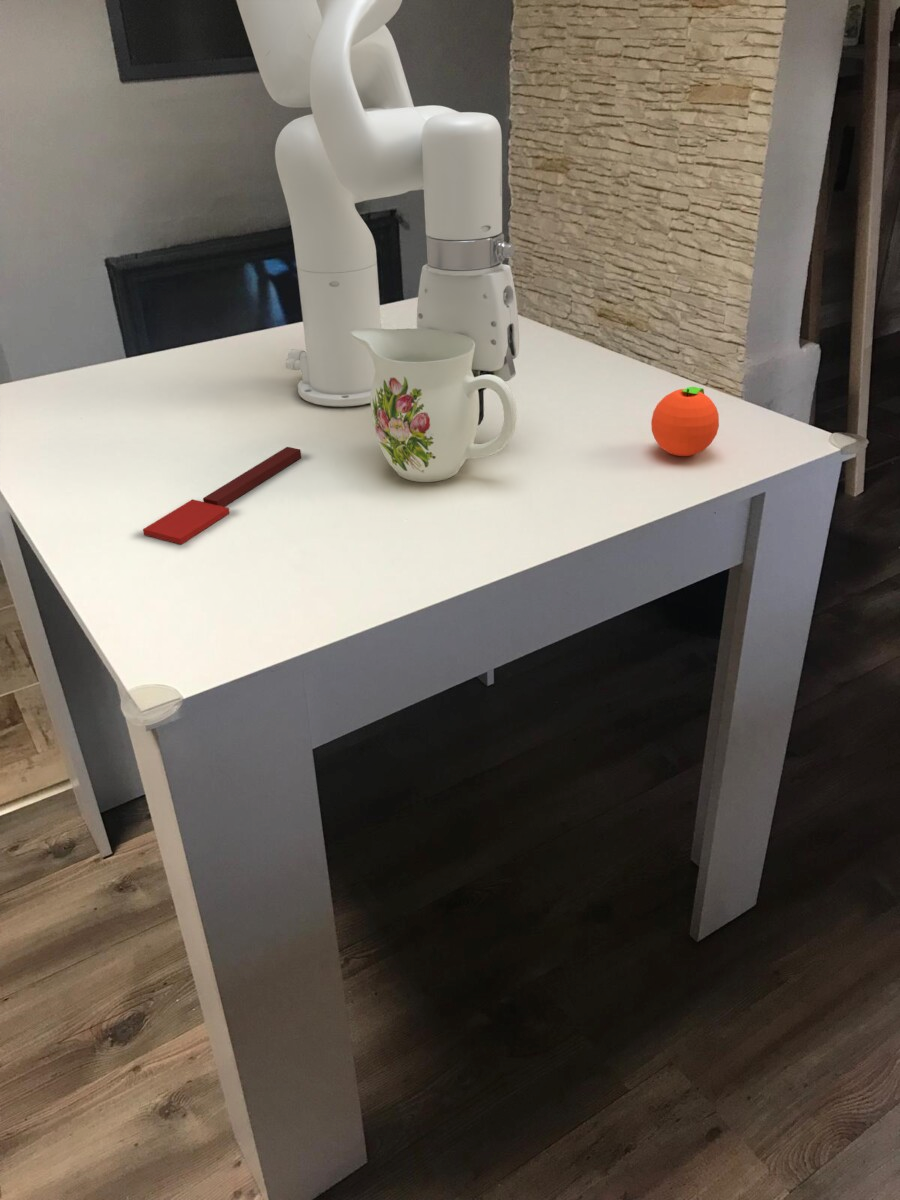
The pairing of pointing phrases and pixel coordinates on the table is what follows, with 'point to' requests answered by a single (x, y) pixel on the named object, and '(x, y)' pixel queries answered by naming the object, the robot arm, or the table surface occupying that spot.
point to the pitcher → (429, 401)
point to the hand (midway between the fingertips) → (468, 426)
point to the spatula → (217, 501)
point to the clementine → (685, 422)
